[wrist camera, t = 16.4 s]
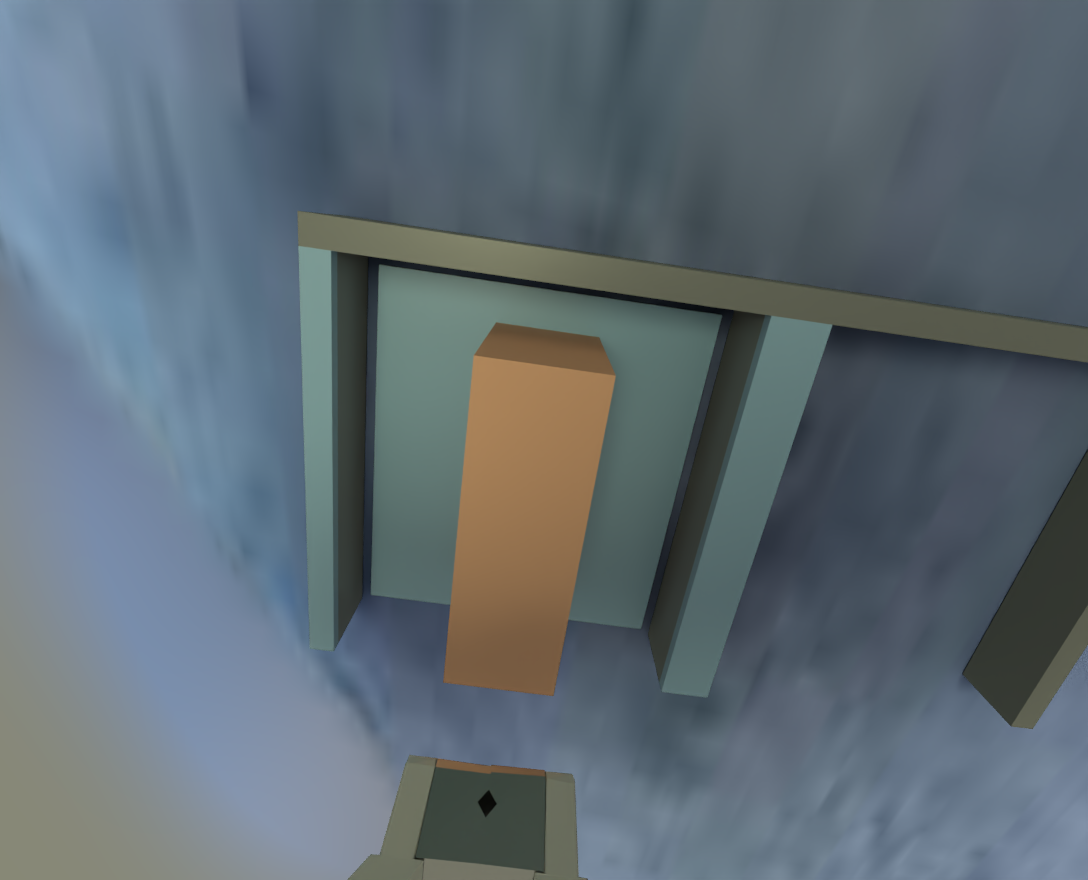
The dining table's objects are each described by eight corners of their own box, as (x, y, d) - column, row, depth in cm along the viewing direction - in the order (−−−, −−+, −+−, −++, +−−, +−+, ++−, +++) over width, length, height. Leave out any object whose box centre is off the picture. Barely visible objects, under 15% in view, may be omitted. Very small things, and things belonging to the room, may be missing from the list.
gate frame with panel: (1175, 340, 20) (1295, 360, 17) (981, 676, 26) (1041, 738, 23) (341, 215, 19) (297, 211, 16) (341, 595, 25) (309, 648, 22)
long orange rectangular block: (599, 337, 20) (615, 375, 15) (553, 591, 25) (553, 695, 19) (496, 322, 20) (473, 355, 15) (468, 580, 24) (443, 682, 19)
